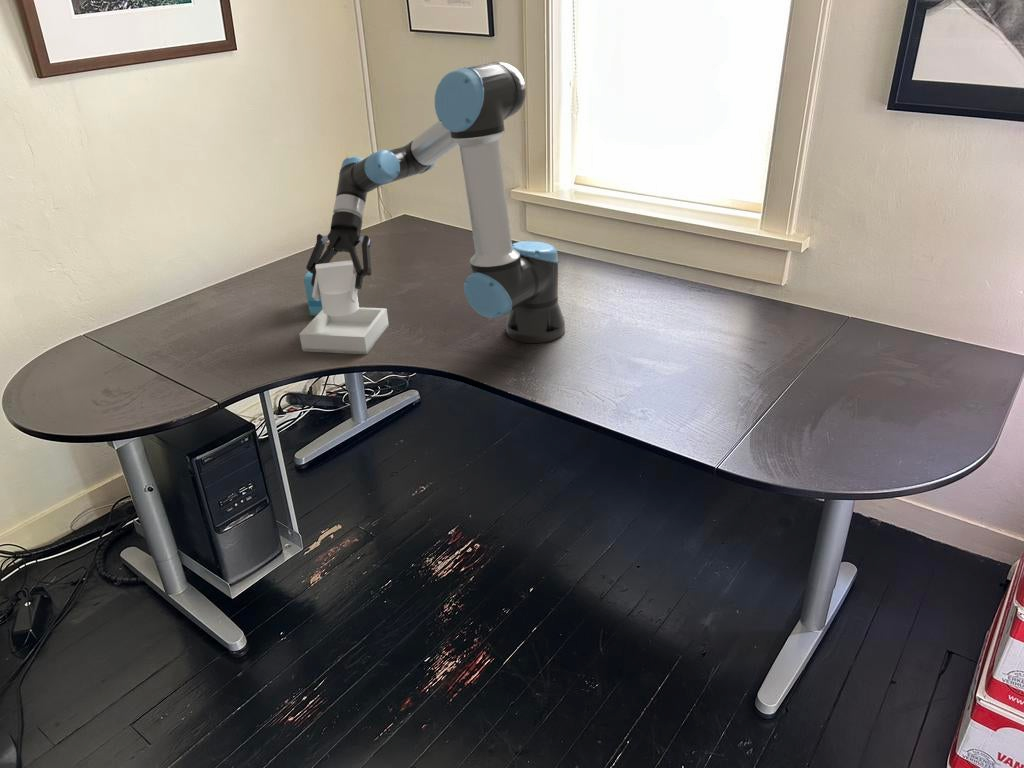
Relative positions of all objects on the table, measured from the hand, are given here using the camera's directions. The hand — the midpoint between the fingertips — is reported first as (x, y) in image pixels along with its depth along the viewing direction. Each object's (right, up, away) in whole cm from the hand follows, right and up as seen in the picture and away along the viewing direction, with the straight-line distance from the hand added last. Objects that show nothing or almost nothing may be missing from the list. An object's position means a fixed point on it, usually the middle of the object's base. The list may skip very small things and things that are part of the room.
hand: (333, 299), depth 184 cm
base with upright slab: (+1, -2, +5) cm, 5 cm away
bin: (+1, -9, +8) cm, 12 cm away
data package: (-8, 0, +25) cm, 26 cm away
